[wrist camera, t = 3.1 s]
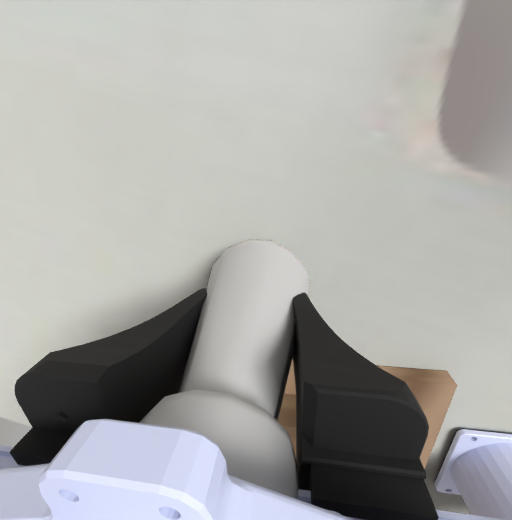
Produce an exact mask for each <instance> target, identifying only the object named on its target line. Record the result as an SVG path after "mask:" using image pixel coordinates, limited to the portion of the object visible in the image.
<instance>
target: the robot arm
mask: <svg viewBox="0 0 512 520" xmlns="http://www.w3.org/2000/svg"><path fill="white" fill-rule="evenodd" d="M206 290H207V289H200V290H199V291H197V292H195V293H194V294H192V295H190V296H189V297H187V298H186V299H184V300H183V301H181V302H180V303H178V304H176V305H175V306H173V307H171V308H170V309H168V310H166V311H165V312H163V313H161V314H159V315H158V316H156V317H154V318H152V319H150V320H148V321H146V322H144V323H142V324H140V325H137V326H135V327H133V328H130V329H128V330H125V331H123V332H120V333H117V334H115V335H112V336H109V337H106V338H103V339H100V340H97V341H94V342H90V343H87V344H83V345H80V346H76V347H71V348H67V349H63V350H59V351H55V352H50V353H49V354H48V355H46V356H45V357H44V358H43V359H42V360H40V361H39V362H38V363H37V364H36V365H34V366H33V367H32V368H31V369H30V370H28V371H27V372H26V373H25V374H24V375H22V376H21V377H20V378H19V379H18V380H17V382H16V384H15V396H16V398H17V401H18V403H19V405H20V406H21V408H22V410H23V411H24V413H25V415H26V417H27V418H28V420H29V422H30V424H31V425H32V427H33V428H32V429H31V430H30V431H29V432H28V433H27V434H26V435H25V436H24V437H23V438H22V439H21V440H20V442H18V443H17V445H16V446H15V447H10V446H3V445H0V520H512V434H504V433H495V432H486V431H476V430H467V429H461V430H459V431H457V433H456V435H455V437H454V440H453V442H452V444H451V446H450V449H449V451H448V453H447V456H446V458H445V460H444V463H443V465H442V467H441V470H440V472H439V474H438V477H437V479H436V481H435V484H434V486H435V488H436V490H437V491H439V492H442V493H449V494H456V495H461V496H462V498H463V500H464V502H465V504H466V507H467V509H468V511H469V513H470V514H463V513H457V512H450V511H443V510H436V509H435V507H434V504H433V502H432V499H431V497H430V494H429V492H428V489H427V487H426V484H425V482H424V479H425V478H426V472H425V470H424V467H423V465H422V462H421V460H420V456H421V453H422V450H423V447H424V445H425V442H426V439H427V437H428V431H429V425H428V421H427V418H426V416H425V414H424V412H423V410H422V408H421V406H420V404H419V403H418V401H417V399H416V398H415V396H414V394H413V393H412V391H411V390H410V388H409V387H408V385H407V384H406V382H404V381H403V380H401V379H399V378H397V377H395V376H394V375H392V374H390V373H388V372H386V371H385V370H383V369H381V368H379V367H378V366H376V365H375V364H373V363H372V362H370V361H369V360H367V359H366V358H364V357H363V356H361V355H360V354H359V353H357V352H356V351H355V350H353V349H352V348H351V347H350V346H348V345H347V344H346V343H345V342H344V341H343V340H341V339H340V338H339V337H338V336H337V335H336V334H335V333H334V332H333V330H332V329H331V328H330V327H329V326H328V325H327V324H326V322H325V321H324V320H323V319H322V317H321V316H320V315H319V313H318V312H317V310H316V309H315V307H314V306H313V304H312V303H311V301H310V299H309V297H308V295H307V294H306V293H300V294H298V295H296V296H295V297H293V307H294V317H295V350H294V354H293V366H294V376H295V386H296V461H297V465H298V469H299V479H300V489H298V499H295V498H292V497H289V496H286V495H284V494H281V493H278V492H275V491H272V490H269V489H267V488H264V487H261V486H258V485H255V484H253V483H250V482H247V481H244V480H241V479H238V478H236V477H233V476H230V475H228V474H227V466H226V460H225V458H224V456H223V454H222V452H221V451H220V449H219V447H218V445H217V444H216V443H215V442H213V441H212V440H211V439H209V438H208V437H206V436H205V435H204V434H201V433H198V432H195V431H191V430H188V429H184V428H176V427H168V426H160V425H152V424H143V423H139V422H140V421H141V420H142V419H143V418H144V417H145V416H146V415H147V414H148V413H149V412H150V411H151V410H152V409H153V408H154V407H155V406H156V405H157V404H158V403H159V402H160V401H161V400H162V399H163V398H164V397H165V396H169V395H173V394H177V393H178V391H179V388H180V384H181V381H182V377H183V374H184V370H185V367H186V363H187V360H188V356H189V353H190V350H191V346H192V343H193V340H194V337H195V333H196V329H197V326H198V322H199V318H200V314H201V310H202V306H203V303H204V301H205V298H206V296H207V291H206Z"/></svg>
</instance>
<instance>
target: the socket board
mask: <svg viewBox="0 0 512 520" xmlns="http://www.w3.org/2000/svg"><path fill="white" fill-rule="evenodd" d="M378 367H379V368H381V369H383V370H385V371H386V372H388V373H390V374H392V375H394V376H395V377H397V378H399V379H401V380H403V381H404V382H406V384H407V385H408V387H409V388H410V390H411V391H412V393H413V394H414V396H415V398H416V399H417V401H418V403H419V404H420V406H421V408H422V410H423V412H424V414H425V416H426V418H427V421H428V425H429V431H428V437H427V439H426V442H425V445H424V447H423V450H422V453H421V456H420V460H421V462H422V465H423V467H424V469H425V467H426V464H427V462H428V459H429V457H430V454H431V451H432V449H433V446H434V444H435V441H436V439H437V436H438V433H439V431H440V428H441V426H442V423H443V421H444V418H445V415H446V413H447V410H448V408H449V405H450V403H451V400H452V397H453V395H454V392H455V390H456V387H457V385H456V383H455V382H454V380H453V379H452V378H451V376H450V375H449V373H448V372H447V371H439V370H426V369H413V368H400V367H387V366H378ZM278 422H279V423H280V424H281V425H282V426H283V427H284V428H285V429H286V430H287V431H288V432H289V435H290V438H291V441H292V444H293V448H294V452H295V457H296V386H295V376H294V366H293V359H292V362H291V367H290V371H289V375H288V380H287V384H286V388H285V393H284V397H283V401H282V406H281V410H280V414H279V418H278Z"/></svg>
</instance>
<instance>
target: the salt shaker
mask: <svg viewBox="0 0 512 520" xmlns="http://www.w3.org/2000/svg"><path fill="white" fill-rule="evenodd" d="M206 291H207V296H206V298H205V301H204V303H203V306H202V310H201V314H200V318H199V322H198V326H197V329H196V333H195V337H194V340H193V343H192V346H191V350H190V353H189V356H188V360H187V363H186V367H185V370H184V374H183V377H182V381H181V384H180V388H179V391H178V393H177V394H173V395H169V396H165V397H164V398H163V399H162V400H161V401H160V402H159V403H158V404H157V405H156V406H155V407H154V408H153V409H152V410H151V411H150V412H149V413H148V414H147V415H146V416H145V417H144V418H143V419H142V420H141V421H140V422H139V423H143V424H152V425H160V426H168V427H176V428H184V429H188V430H191V431H195V432H198V433H201V434H204V435H205V436H206V437H208V438H209V439H211V440H212V441H213V442H215V443H216V444H217V445H218V447H219V449H220V451H221V452H222V454H223V456H224V458H225V460H226V466H227V474H228V475H230V476H233V477H236V478H238V479H241V480H244V481H247V482H250V483H253V484H255V485H258V486H261V487H264V488H267V489H269V490H272V491H275V492H278V493H281V494H284V495H286V496H289V497H292V498H295V499H298V489H300V479H299V469H298V465H297V461H296V457H295V452H294V448H293V444H292V441H291V438H290V435H289V432H288V431H287V430H286V429H285V428H284V427H283V426H282V425H281V424H280V423H279V422H278V418H279V414H280V410H281V406H282V401H283V397H284V393H285V388H286V384H287V380H288V375H289V371H290V367H291V362H292V358H293V354H294V350H295V317H294V307H293V297H295V296H296V295H298V294H300V293H306V294H307V295H308V297H309V294H310V289H309V282H308V275H307V270H306V269H305V267H304V266H303V265H302V263H301V262H300V261H299V260H298V259H297V257H296V256H295V255H294V254H293V252H292V251H290V250H289V249H287V248H285V247H283V246H281V245H279V244H277V243H276V242H274V241H272V240H246V241H244V242H241V243H239V244H236V245H234V246H231V247H229V248H227V249H226V250H225V251H224V252H223V254H222V255H221V256H220V257H219V259H218V260H217V261H216V262H215V264H214V265H213V266H212V270H211V274H210V278H209V282H208V286H207V290H206Z"/></svg>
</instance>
